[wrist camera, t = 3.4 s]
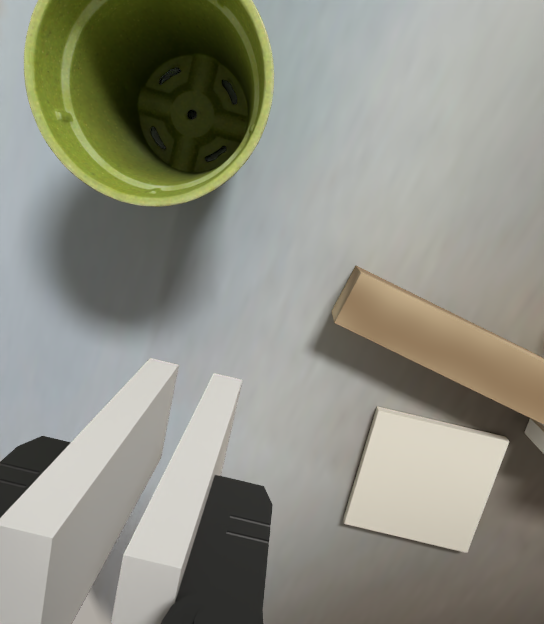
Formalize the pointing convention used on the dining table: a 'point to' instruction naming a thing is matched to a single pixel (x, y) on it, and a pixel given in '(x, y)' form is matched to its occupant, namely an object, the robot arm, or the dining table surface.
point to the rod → (442, 342)
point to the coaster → (424, 479)
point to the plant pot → (149, 92)
